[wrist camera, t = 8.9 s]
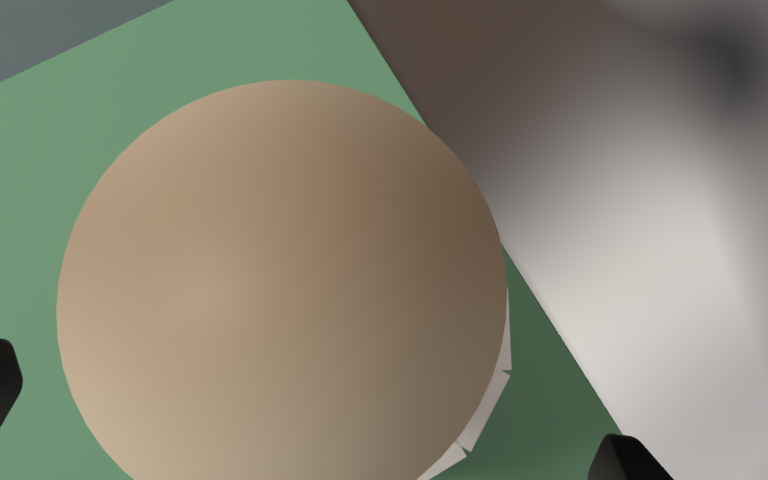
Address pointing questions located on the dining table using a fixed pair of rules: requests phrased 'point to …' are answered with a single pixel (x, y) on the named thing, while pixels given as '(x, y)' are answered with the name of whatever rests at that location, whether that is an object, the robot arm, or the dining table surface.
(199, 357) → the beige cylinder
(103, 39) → the putting mat
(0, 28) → the dining table surface
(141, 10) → the dining table surface
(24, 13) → the dining table surface
